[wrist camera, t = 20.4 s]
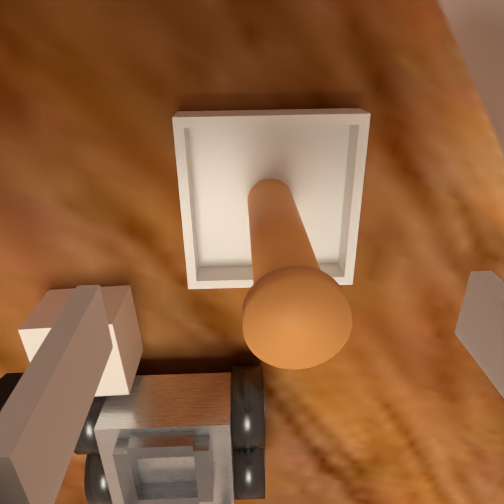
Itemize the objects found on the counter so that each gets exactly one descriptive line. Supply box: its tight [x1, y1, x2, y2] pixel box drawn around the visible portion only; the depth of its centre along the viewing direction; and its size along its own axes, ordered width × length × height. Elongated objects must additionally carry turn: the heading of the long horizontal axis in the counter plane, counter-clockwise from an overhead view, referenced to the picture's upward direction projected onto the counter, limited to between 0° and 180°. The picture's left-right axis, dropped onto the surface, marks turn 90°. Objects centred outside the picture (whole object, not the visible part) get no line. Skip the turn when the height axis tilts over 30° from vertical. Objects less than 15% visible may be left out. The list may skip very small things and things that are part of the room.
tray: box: [172, 108, 371, 289], centre depth 27 cm, size 11×11×2 cm
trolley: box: [74, 365, 266, 504], centre depth 29 cm, size 12×14×16 cm
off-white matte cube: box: [18, 285, 143, 397], centre depth 30 cm, size 6×6×5 cm
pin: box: [242, 179, 352, 369], centre depth 21 cm, size 4×4×14 cm
